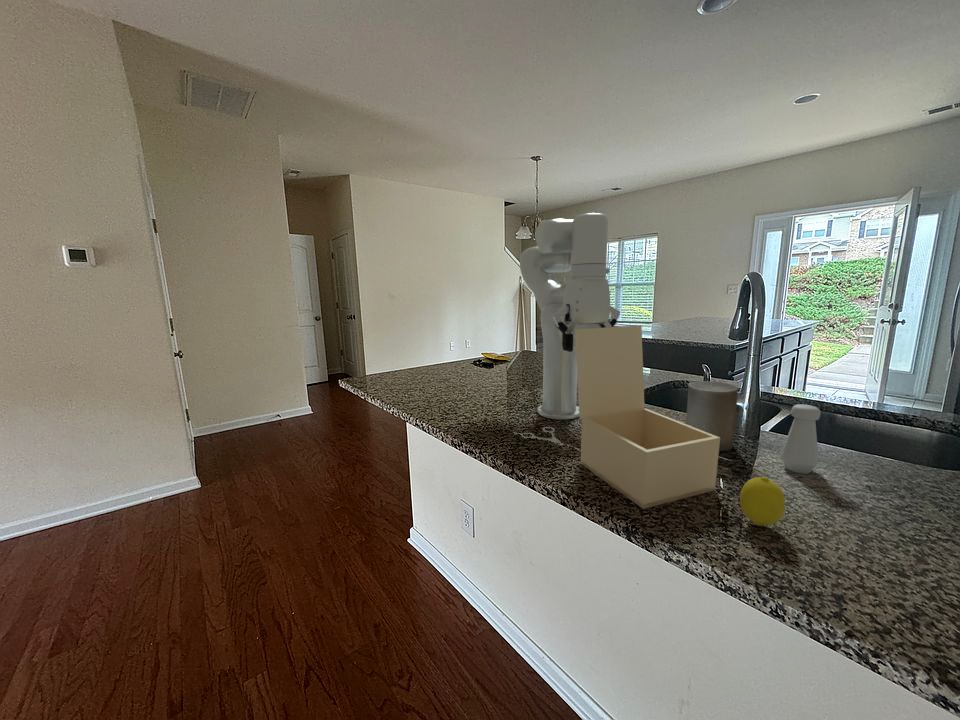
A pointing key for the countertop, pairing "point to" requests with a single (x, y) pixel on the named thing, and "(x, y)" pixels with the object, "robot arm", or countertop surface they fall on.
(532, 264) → the robot arm
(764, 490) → the lemon
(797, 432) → the salt shaker
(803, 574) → the countertop surface
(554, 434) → the scissors
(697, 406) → the pillar candle
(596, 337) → the carton flap
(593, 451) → the carton
